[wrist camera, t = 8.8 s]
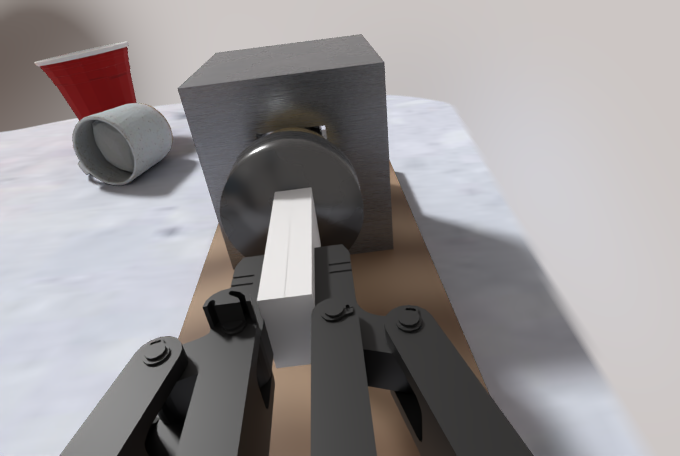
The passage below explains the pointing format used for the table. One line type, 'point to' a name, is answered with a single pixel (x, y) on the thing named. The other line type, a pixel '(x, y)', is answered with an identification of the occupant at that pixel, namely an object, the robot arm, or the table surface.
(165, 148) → the ceramic mug
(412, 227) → the base plate
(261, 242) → the shaft
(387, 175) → the bearing block
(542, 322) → the table surface
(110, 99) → the plastic cup
